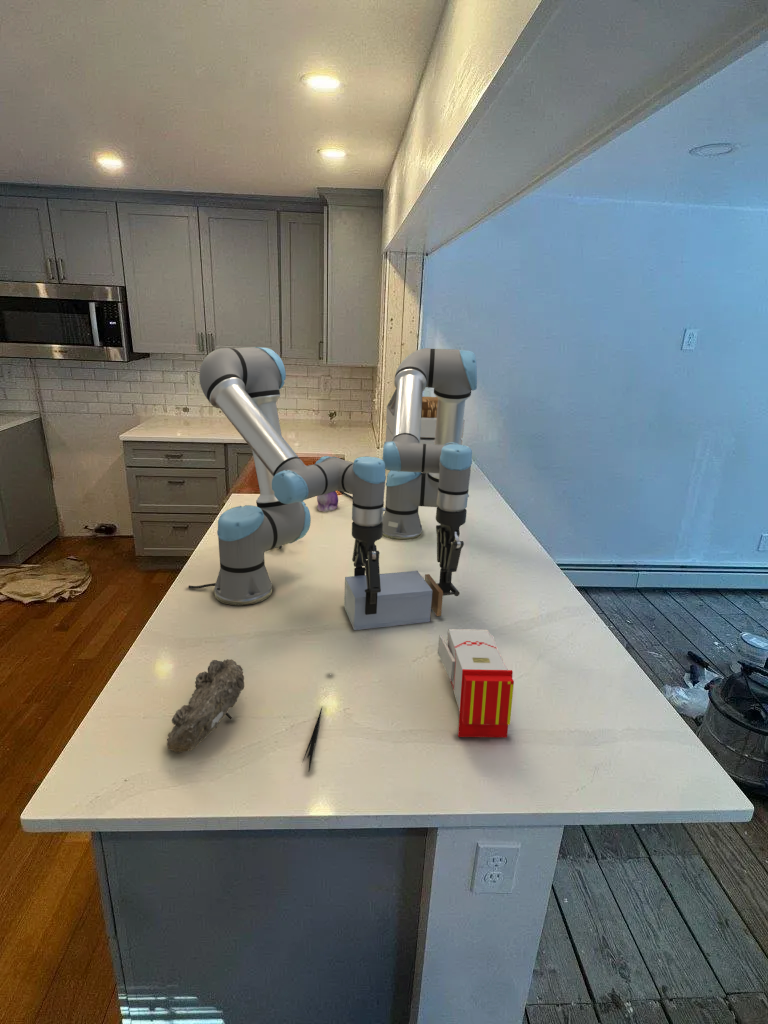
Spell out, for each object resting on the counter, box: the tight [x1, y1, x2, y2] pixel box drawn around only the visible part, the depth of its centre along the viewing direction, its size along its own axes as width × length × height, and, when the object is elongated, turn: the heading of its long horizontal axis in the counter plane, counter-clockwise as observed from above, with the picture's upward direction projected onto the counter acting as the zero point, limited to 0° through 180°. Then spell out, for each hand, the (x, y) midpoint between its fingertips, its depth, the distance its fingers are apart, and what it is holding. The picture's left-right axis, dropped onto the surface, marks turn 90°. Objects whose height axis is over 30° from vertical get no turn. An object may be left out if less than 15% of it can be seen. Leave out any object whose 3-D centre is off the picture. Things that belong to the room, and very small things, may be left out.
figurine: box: [316, 491, 339, 512], centre depth 219 cm, size 9×10×15 cm
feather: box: [301, 673, 332, 771], centre depth 108 cm, size 2×28×2 cm
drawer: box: [424, 573, 460, 617], centre depth 147 cm, size 24×10×7 cm, turn 106°
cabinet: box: [343, 570, 432, 631], centre depth 145 cm, size 20×12×9 cm, turn 106°
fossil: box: [166, 658, 245, 754], centre depth 106 cm, size 22×10×15 cm
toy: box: [437, 628, 515, 738], centre depth 117 cm, size 12×13×30 cm
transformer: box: [383, 388, 465, 472], centre depth 268 cm, size 34×33×41 cm
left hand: (364, 601), depth 144 cm, fingers closed on cabinet, 11 cm apart
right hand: (444, 591), depth 149 cm, fingers closed
